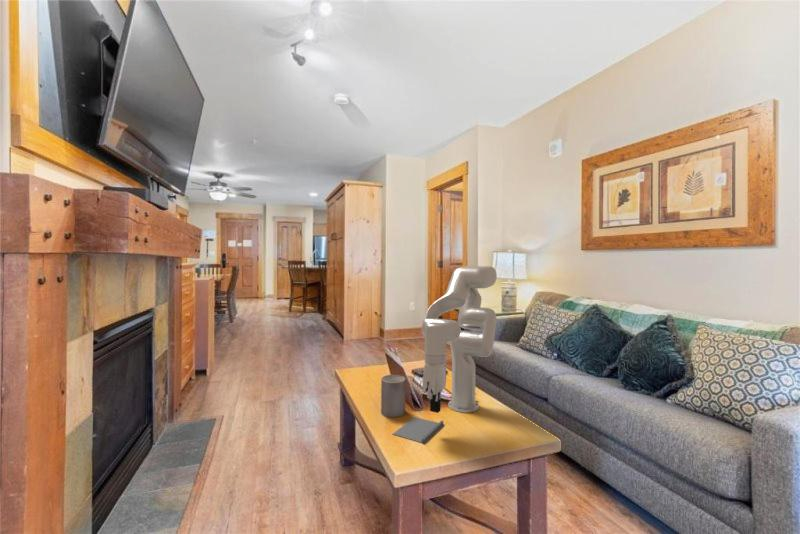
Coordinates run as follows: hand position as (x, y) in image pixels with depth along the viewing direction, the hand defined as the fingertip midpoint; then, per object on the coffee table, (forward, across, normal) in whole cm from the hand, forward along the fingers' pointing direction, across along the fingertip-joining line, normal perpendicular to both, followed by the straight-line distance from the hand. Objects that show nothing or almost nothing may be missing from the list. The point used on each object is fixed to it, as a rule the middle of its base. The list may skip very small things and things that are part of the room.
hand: (435, 411), depth 123 cm
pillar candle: (+8, -8, -22) cm, 25 cm away
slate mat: (+8, 0, -6) cm, 10 cm away
